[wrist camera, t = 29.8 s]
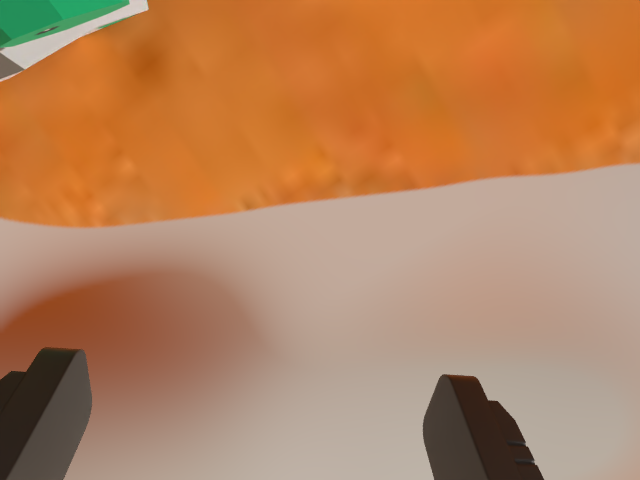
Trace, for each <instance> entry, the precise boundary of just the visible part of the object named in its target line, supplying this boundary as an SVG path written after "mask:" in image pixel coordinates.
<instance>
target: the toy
mask: <svg viewBox="0 0 640 480" xmlns="http://www.w3.org/2000/svg"><path fill="white" fill-rule="evenodd" d="M146 10H149V9H148V4H147V0H0V81H3V80H6V79H9V78H11V77H13V76H14V75H16V74H18V73H20V72H22V71H23V70H25V69H27V68H28V67H30V66H32V65H33V64H35V63H37V62H39V61H40V60H42V59H44V58H45V57H47V56H49V55H50V54H52V53H54V52H56V51H57V50H59V49H61V48H62V47H64V46H66V45H68V44H69V43H71V42H73V41H75V40H76V39H78V38H80V37H82V36H84V35H87V34H89V33H92V32H94V31H97V30H99V29H102V28H104V27H107V26H109V25H112V24H114V23H117V22H119V21H122V20H124V19H127V18H129V17H132V16H134V15H136V14H139V13H141V12H144V11H146Z"/></svg>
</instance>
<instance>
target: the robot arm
mask: <svg viewBox="0 0 640 480" xmlns="http://www.w3.org/2000/svg"><path fill="white" fill-rule="evenodd" d="M91 407H92V394H91V387H90V380H89V374H88V367H87V361H86V354H85V352H84V350H81V349H66V348H51V347H45V348H43V349H42V350H41V351H40V352H39V353H38V354H37V356H36V357H35V359H34V361H33V362H32V364H31V365H30V367H29V368H28V370H27V371H26V372H18V371H11V372H10V373H8V374H7V375H6V376H5V377H3V378H2V379H1V380H0V480H63V479H64V477H65V475H66V472H67V470H68V468H69V465H70V463H71V461H72V459H73V456H74V454H75V452H76V450H77V447H78V445H79V443H80V441H81V438H82V436H83V434H84V431H85V429H86V426H87V424H88V421H89V417H90V413H91ZM423 437H424V443H425V447H426V451H427V454H428V458H429V462H430V465H431V469H432V473H433V476H434V480H544V479H543V476H542V474H541V472H540V470H539V468H538V466H537V465H535V463H534V458H533V456H532V454H531V452H530V450H529V448H528V447H526V444H525V443H526V442H525V440H524V438H523V436H522V434H521V432H520V429H519V427H518V425H517V424H516V422H515V420H514V419H513V418H512V416H510V414H509V413H508V412H507V411H506V410H505V409H504V408H503V407H502V406H501V404H500V403H499V402H498V401H488V399H487V397H486V395H485V393H484V391H483V388H482V386H481V384H480V382H479V380H478V379H477V378H476V377H474V376H461V375H445V374H444V375H442V376H441V377H440V378H439V380H438V383H437V386H436V388H435V391H434V393H433V396H432V398H431V401H430V403H429V406H428V409H427V411H426V414H425V417H424V422H423Z"/></svg>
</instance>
